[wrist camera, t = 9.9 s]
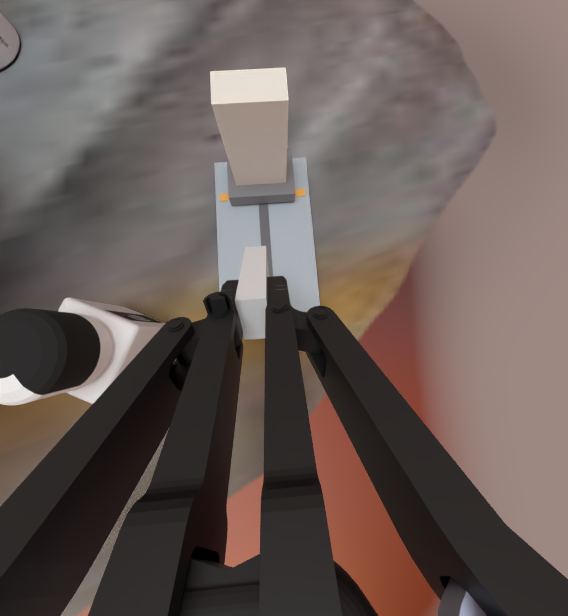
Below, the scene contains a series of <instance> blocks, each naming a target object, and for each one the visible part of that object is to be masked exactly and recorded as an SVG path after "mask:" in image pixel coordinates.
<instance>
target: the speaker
mask: <svg viewBox="0 0 568 616" xmlns="http://www.w3.org/2000/svg"><path fill="white" fill-rule="evenodd" d="M19 50H20V39H19V36H18V34H17V32H16V30H15V29H14V27H13V26H12V25H11V24H10V23H9V22H8V20H7V19H6V18H5V17H4V16H3V15H2V13H1V12H0V71H1V70H4V69H5V68H7V67H8V66H9V65H10V64H11V63H12V62H13V61H14V60H15V58H16V57H17V54H18V52H19Z"/></svg>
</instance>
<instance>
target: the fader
mask: <svg viewBox="0 0 568 616" xmlns="http://www.w3.org/2000/svg"><path fill="white" fill-rule="evenodd" d="M210 80H211V105H212V108H213V111H214V114H215V118H216V121H217V124H218V128H219V131H220V134H221V137H222V141H223V144H224V147H225V150H226V154H227V176H228V198H229V200H230V203H231V205H246V204H262V203H278V202H294V201H295V184H294V172H293V161H292V149H287V135H288V101H289V100H288V89H287V77H286V68H268V69H248V70H228V71H210Z"/></svg>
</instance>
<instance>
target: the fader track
mask: <svg viewBox="0 0 568 616" xmlns="http://www.w3.org/2000/svg"><path fill="white" fill-rule="evenodd" d="M292 161H293V172H294V184H295V201H294V202H278V203H262V204H246V205H231V203H230V200H229V198H228V176H227V162H221V163H215V186H216V212H217V239H218V266H219V292H220V291H221V288H222V285H223V284H224V283H225V282H226V281H227V280H239V276H240V272H241V267H242V262H243V257H244V252H245V247H255V246H266V250H267V260H268V270H269V277H272V276H284V277H285V279H286V280H287V285H288V292H289V299H290V304H291V306H292V307H293V308H294V309H296V310H298V311H302V312H308V310H309V309H310V308H312V307H314V306H320V301H319V291H318V281H317V270H316V260H315V249H314V239H313V228H312V218H311V208H310V197H309V187H308V176H307V166H306V158H292Z"/></svg>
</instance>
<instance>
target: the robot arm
mask: <svg viewBox="0 0 568 616" xmlns="http://www.w3.org/2000/svg"><path fill="white" fill-rule="evenodd" d="M203 302H204V305H205V308H206V310H207V313H208V315H207V318H205V319H202V320H199V321H196V322H193V323H191V320H190V319H188V318H186V317H178V318H175V319H172V320H170V321H168V322H167V323H166V324H164V325H163V327H162V328H161V329H160V330H159V331H158V332H157V333H156V334H155V335H154V337H153V338H152V339H151V340H150V341H149V342H148V343H147V344H146V345H145V347H144V348H143V349H142V350H141V351H140V352H139V353H138V354H137V355H136V357H135V358H134V359H133V360H132V361H131V362H130V363H129V364H128V365H127V367H126V368H125V369H124V370H123V371H122V372H121V373H120V374H119V375H118V377H117V378H116V379H115V380H114V381H113V382H112V383H111V384H110V385H109V387H108V388H107V389H106V390H105V391H104V392H103V393H102V394H101V396H100V397H99V398H98V399H97V400H96V401H95V402H94V403H93V404H92V406H91V407H90V408H89V409H88V410H87V411H86V412H85V413H84V414H83V416H82V417H81V418H80V419H79V420H78V421H77V422H76V423H75V424H74V426H73V427H72V428H71V429H70V430H69V431H68V432H67V433H66V434H65V436H64V437H63V438H62V439H61V440H60V441H59V442H58V443H57V444H56V446H55V447H54V448H53V449H52V450H51V451H50V452H49V453H48V454H47V456H46V457H45V458H44V459H43V460H42V461H41V462H40V463H39V465H38V466H37V467H36V468H35V469H34V470H33V471H32V472H31V473H30V475H29V476H28V477H27V478H26V479H25V480H24V481H23V482H22V483H21V485H20V486H19V487H18V488H17V489H16V490H15V491H14V492H13V493H12V495H11V496H10V497H9V498H8V499H7V500H6V501H5V502H4V503H3V505H2V506H1V507H0V616H60V615H61V614H62V612H63V611H64V609H65V608H66V606H67V605H68V603H69V602H70V600H71V599H72V597H73V596H74V594H75V593H76V591H77V589H78V588H79V586H80V584H81V582H82V581H83V579H84V577H85V576H86V574H87V572H88V571H89V569H90V567H91V566H92V564H93V562H94V560H95V559H96V557H97V555H98V553H99V552H100V550H101V548H102V546H103V544H104V543H105V541H106V539H107V537H108V535H109V534H110V532H111V530H112V528H113V527H114V525H115V523H116V521H117V519H118V518H119V516H120V514H121V512H122V510H123V509H124V507H125V505H126V503H127V502H128V500H129V498H130V496H131V494H132V493H133V491H134V489H135V487H136V486H137V484H138V482H139V480H140V478H141V477H142V475H143V473H144V471H145V469H146V468H147V466H148V464H149V462H150V461H151V459H152V457H153V455H154V453H155V452H156V450H157V448H158V446H159V444H160V443H161V441H162V439H163V437H164V436H165V434H166V432H167V430H168V428H169V430H168V433H167V436H166V439H165V442H164V445H163V448H162V451H161V454H160V457H159V460H158V463H157V466H156V469H155V472H154V475H153V478H152V481H151V483H150V486H149V488H148V490H147V492H146V493H145V495H144V496H142V497H141V498H140V499H139V500H138V501H137V502H135V503H134V505H133V506H132V508H131V509H130V511H129V512H128V514H127V516H126V518H125V520H124V522H123V525H122V527H121V529H120V532H119V535H118V537H117V540H116V543H115V545H114V548H113V551H112V553H111V556H110V559H109V561H108V564H107V567H106V569H105V572H104V575H103V577H102V580H101V583H100V585H99V588H98V591H97V593H96V596H95V599H94V601H93V604H92V606H91V609H90V612H89V614H88V616H378V614H377V613H376V612H375V610H374V609H373V607H372V606H371V604H370V602H369V601H368V599H367V598H366V596H365V595H364V593H363V592H362V590H361V589H360V588H359V586H358V585H357V584H356V582H355V581H354V580H353V579H352V578H351V577H350V575H349V574H348V573H347V572H346V571H345V570H344V569H343V568H342V567H341V566H339V565H338V564H337V563H336V562H334V561H333V555H332V549H331V543H330V537H329V530H328V525H327V518H326V511H325V505H324V500H323V494H322V489H321V485H320V482H319V479H318V475H317V470H316V463H315V456H314V450H313V443H312V437H311V430H310V424H309V417H308V410H307V404H306V397H305V391H304V384H303V378H302V371H301V364H300V358H299V351H298V350H300V351H305V352H306V354H307V356H308V358H309V360H310V362H311V364H312V366H313V368H314V369H315V371H316V373H317V375H318V377H319V379H320V381H321V383H322V385H323V387H324V389H325V391H326V393H327V395H328V397H329V399H330V401H331V403H332V404H333V407H334V409H335V410H336V412H337V415H338V416H339V418H340V420H341V422H342V424H343V426H344V428H345V430H346V432H347V434H348V436H349V438H350V440H351V442H352V444H353V446H354V448H355V450H356V452H357V454H358V456H359V457H360V460H361V462H362V463H363V465H364V467H365V469H366V471H367V473H368V475H369V477H370V479H371V481H372V483H373V485H374V487H375V489H376V491H377V493H378V495H379V497H380V499H381V501H382V503H383V505H384V506H385V508H386V510H387V512H388V514H389V516H390V518H391V520H392V522H393V524H394V526H395V528H396V530H397V532H398V534H399V536H400V537H401V539H402V541H403V543H404V545H405V546H406V548H407V550H408V552H409V554H410V555H411V557H412V559H413V560H414V562H415V564H416V565H417V567H418V568H419V570H420V571H421V573H422V574H423V576H424V577H425V579H426V581H427V582H428V584H429V585H430V587H431V588H432V589H433V591H434V592H435V593H436V595H437V596H438V597H439V599H440V600H441V601H440V605H439V609H438V616H568V579H567V578H566V577H565V576H563V575H562V574H561V573H560V572H559V571H558V570H556V569H555V568H554V567H553V566H552V565H551V564H550V563H548V562H547V561H546V560H545V559H544V558H543V557H542V556H541V555H540V554H538V553H537V552H536V551H535V550H534V549H533V548H532V547H530V546H529V545H528V544H527V543H526V542H525V541H524V540H523V539H521V538H520V537H519V536H518V535H517V534H516V533H515V532H513V531H512V530H511V529H510V528H509V527H508V526H507V525H506V524H505V523H504V522H503V521H502V519H501V518H500V517H499V516H498V514H497V513H496V512H495V511H494V509H493V508H492V507H491V506H490V504H488V502H487V501H486V499H485V498H484V497H483V496H482V494H481V493H480V492H479V491H478V490H477V489H476V487H475V486H474V485H473V483H472V482H471V481H470V480H469V479H468V477H467V476H466V475H465V473H464V472H463V471H462V470H461V468H460V467H459V466H458V465H457V464H456V462H455V461H454V460H453V459H452V458H451V456H450V455H449V454H448V452H447V451H446V450H445V449H444V448H443V446H442V445H441V444H440V443H439V441H438V440H437V439H436V438H435V436H434V435H433V434H432V433H431V431H430V430H429V429H428V428H427V426H426V425H425V424H424V423H423V421H422V420H421V419H420V418H419V417H418V415H417V414H416V413H415V412H414V410H413V409H412V408H411V407H410V405H409V404H408V403H407V402H406V400H405V399H404V398H403V397H402V395H401V394H400V393H399V392H398V391H397V389H396V388H395V387H394V386H393V384H392V383H391V382H390V381H389V379H388V378H387V377H386V376H385V374H384V373H383V372H382V371H381V370H380V368H379V367H378V366H377V365H376V363H375V362H374V361H373V360H372V359H371V357H370V356H369V355H368V353H367V352H366V351H365V350H364V348H363V347H362V346H361V345H360V344H359V342H358V341H357V340H356V339H355V337H354V336H353V335H352V334H351V332H350V331H349V330H348V329H347V327H346V326H345V325H344V324H343V322H342V321H341V320H340V319H339V317H338V316H337V315H336V314H335V313H334V311H333V310H331V309H330V308H328V307H326V306H314V307H312V308H310V309H309V310H308V312H302V311H298V310H296V309H294V308H293V307H292V306H291V304H290V299H289V292H288V285H287V280H286V279H285V277H284V276H272V277H269V270H268V260H267V250H266V246H255V247H245V252H244V257H243V262H242V267H241V272H240V276H239V280H227V281H226V282H225V283H224V284H223V285H222V288H221V291H220V292H216V293H212V294H210V295H208V296H207V297H205V299H204V300H203ZM242 335H243V338H244V340H250V339H262V338H265V412H264V483H263V488H262V496H261V527H260V528H261V529H260V554H259V555H257V556H255V557H253V558H251V559H249V560H247V561H245V562H243V563H241V564H239V565H237V566H236V567H234V568H232V567H229V566H226V565H224V562H225V552H226V542H227V513H226V504H227V494H228V485H229V475H230V466H231V457H232V448H233V438H234V429H235V420H236V411H237V401H238V392H239V383H240V374H241V364H242V355H243V343H242ZM175 359H176V361H175ZM174 361H175V362H174ZM173 362H174V363H173Z"/></svg>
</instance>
